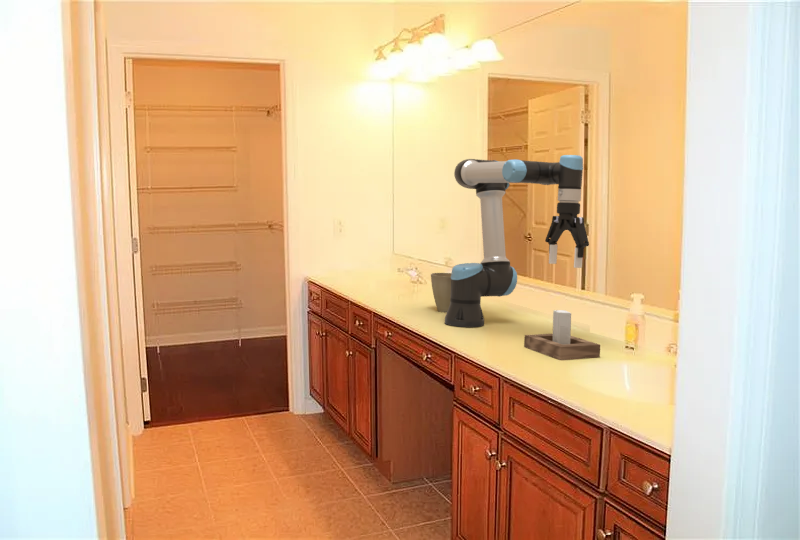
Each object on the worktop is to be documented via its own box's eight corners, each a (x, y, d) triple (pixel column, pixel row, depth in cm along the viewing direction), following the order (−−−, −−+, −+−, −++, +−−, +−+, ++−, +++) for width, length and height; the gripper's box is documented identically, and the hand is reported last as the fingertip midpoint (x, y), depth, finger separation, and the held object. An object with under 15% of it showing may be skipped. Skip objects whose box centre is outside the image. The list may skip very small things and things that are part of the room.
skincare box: (570, 351, 207) (572, 312, 206) (556, 350, 207) (558, 312, 206) (564, 346, 213) (566, 309, 212) (550, 346, 213) (553, 309, 212)
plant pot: (425, 312, 281) (426, 275, 279) (434, 307, 295) (435, 272, 293) (459, 315, 276) (461, 277, 275) (466, 310, 290) (468, 274, 289)
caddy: (523, 347, 216) (524, 335, 215) (561, 344, 222) (562, 333, 221) (560, 360, 198) (560, 347, 198) (599, 357, 204) (600, 344, 204)
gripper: (537, 201, 230) (533, 262, 232) (584, 202, 207) (579, 269, 209) (555, 202, 233) (551, 262, 235) (603, 203, 210) (598, 269, 212)
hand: (564, 265), depth 222 cm, fingers open, 13 cm apart
